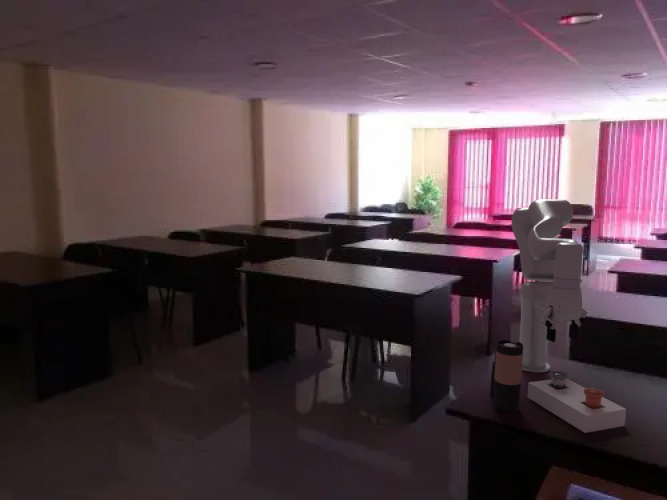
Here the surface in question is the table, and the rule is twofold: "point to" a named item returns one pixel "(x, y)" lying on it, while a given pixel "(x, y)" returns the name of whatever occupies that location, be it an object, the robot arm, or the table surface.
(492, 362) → the two-way radio
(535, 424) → the table surface
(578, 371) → the table surface
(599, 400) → the red button
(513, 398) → the travel mug
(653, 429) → the table surface
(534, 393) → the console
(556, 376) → the metal button
